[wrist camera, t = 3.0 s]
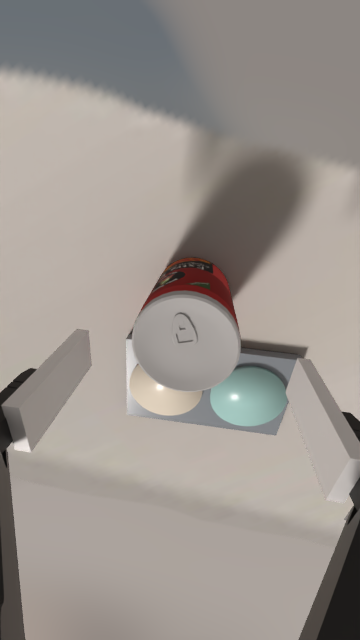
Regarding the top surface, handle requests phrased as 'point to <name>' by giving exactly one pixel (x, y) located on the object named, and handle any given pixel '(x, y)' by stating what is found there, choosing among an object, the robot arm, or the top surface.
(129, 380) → the board
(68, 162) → the top surface
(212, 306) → the canned food
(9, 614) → the robot arm
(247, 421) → the pad
